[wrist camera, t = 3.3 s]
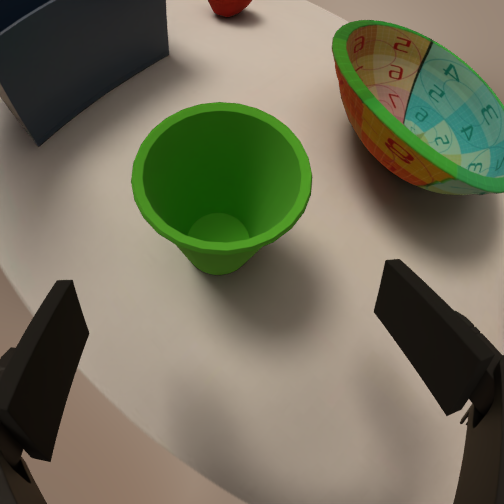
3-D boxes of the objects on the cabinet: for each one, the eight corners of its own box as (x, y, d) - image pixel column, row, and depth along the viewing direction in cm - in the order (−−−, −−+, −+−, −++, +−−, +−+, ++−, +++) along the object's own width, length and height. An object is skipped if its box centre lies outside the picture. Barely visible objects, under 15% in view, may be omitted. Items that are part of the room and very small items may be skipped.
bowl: (463, 275, 27) (533, 240, 18) (270, 167, 28) (294, 86, 19) (472, 138, 35) (511, 96, 26) (337, 57, 36) (359, 0, 27)
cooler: (104, 23, 35) (91, -51, 22) (169, 54, 33) (164, -45, 19) (-1, 95, 29) (-38, 22, 16) (38, 147, 27) (-18, 48, 13)
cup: (289, 220, 27) (332, 137, 16) (248, 319, 24) (275, 287, 13) (193, 179, 27) (187, 84, 17) (142, 271, 24) (96, 206, 14)
